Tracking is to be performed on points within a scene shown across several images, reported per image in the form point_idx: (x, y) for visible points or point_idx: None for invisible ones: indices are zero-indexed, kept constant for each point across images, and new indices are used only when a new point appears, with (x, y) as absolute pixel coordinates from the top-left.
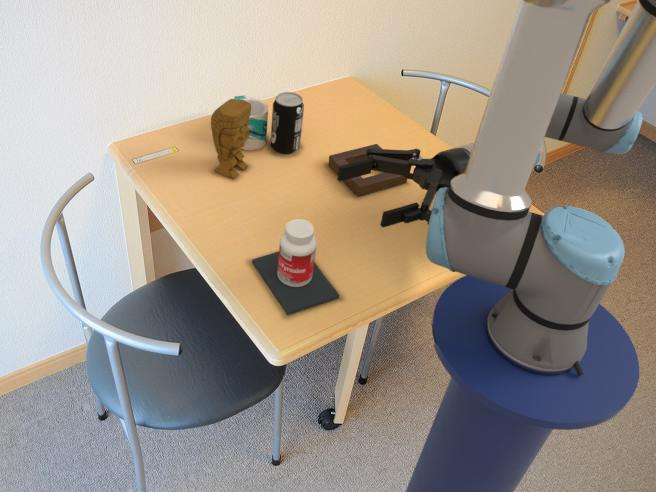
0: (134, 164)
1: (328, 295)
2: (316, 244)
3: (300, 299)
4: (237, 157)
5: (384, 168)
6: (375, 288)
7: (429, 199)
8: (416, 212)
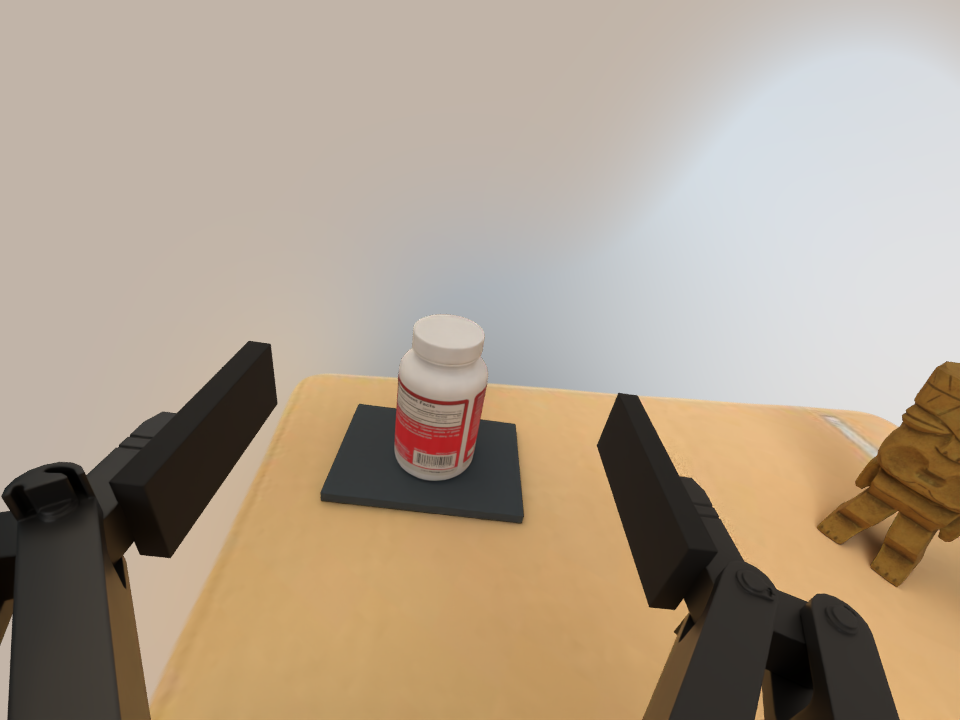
0: (820, 414)
1: (338, 473)
2: (412, 384)
3: (369, 430)
4: (893, 526)
5: (664, 682)
6: (266, 606)
7: (39, 607)
8: (113, 467)
